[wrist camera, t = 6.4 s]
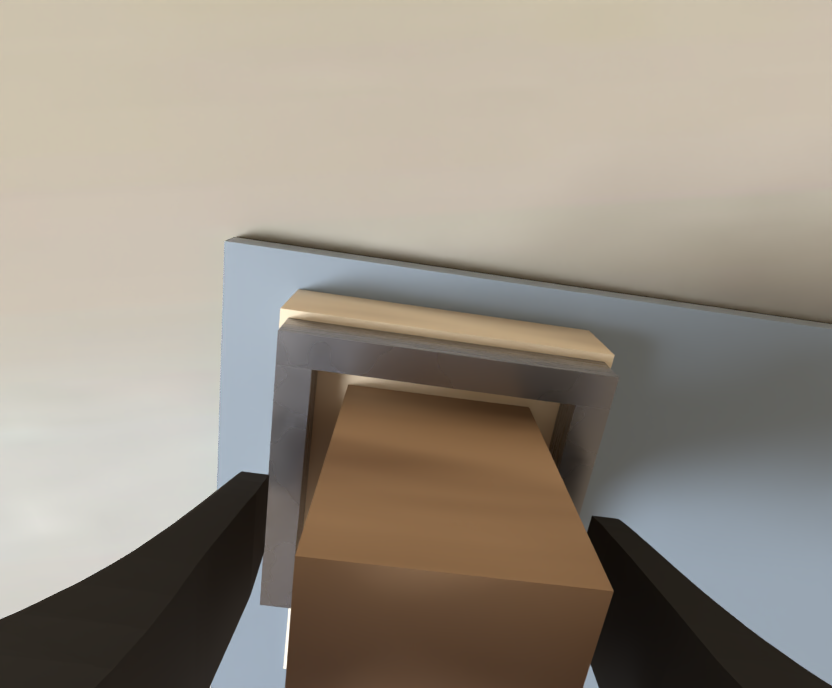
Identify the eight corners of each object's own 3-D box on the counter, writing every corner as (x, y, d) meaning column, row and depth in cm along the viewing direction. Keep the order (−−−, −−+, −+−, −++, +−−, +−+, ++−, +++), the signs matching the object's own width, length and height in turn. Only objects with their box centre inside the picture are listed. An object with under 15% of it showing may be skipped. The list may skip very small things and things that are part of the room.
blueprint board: (788, 731, 21) (866, 851, 17) (218, 669, 20) (174, 782, 16) (988, 346, 16) (1158, 401, 12) (234, 237, 15) (175, 261, 11)
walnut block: (496, 554, 15) (546, 803, 9) (332, 536, 14) (277, 778, 9) (529, 407, 13) (613, 591, 8) (348, 384, 13) (294, 556, 7)
